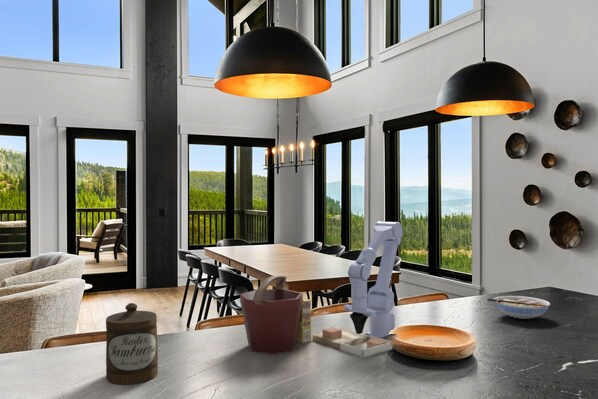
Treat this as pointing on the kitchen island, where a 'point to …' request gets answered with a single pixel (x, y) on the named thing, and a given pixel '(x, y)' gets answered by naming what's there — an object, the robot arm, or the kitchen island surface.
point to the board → (341, 338)
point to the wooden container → (131, 346)
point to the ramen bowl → (521, 306)
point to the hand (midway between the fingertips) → (359, 333)
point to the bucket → (271, 316)
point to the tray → (362, 348)
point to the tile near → (375, 342)
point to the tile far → (332, 333)
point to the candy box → (304, 322)
